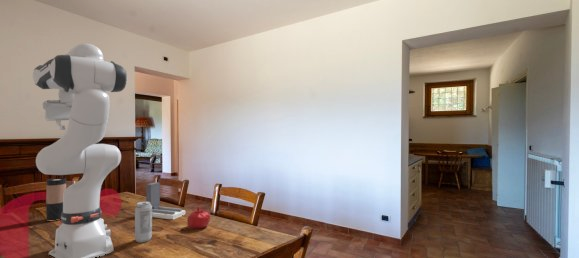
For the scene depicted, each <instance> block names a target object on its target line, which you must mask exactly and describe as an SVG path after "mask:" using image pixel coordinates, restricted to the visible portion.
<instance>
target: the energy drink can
mask: <svg viewBox="0 0 579 258" xmlns="http://www.w3.org/2000/svg"><path fill="white" fill-rule="evenodd" d="M152 235H153V217H152V205H151V204H150V202H148V201H139V202H137V203H136V205H135V207H134V240H135V241H136V243H140V244H141V243H146V242H149V241H151V238H152Z"/></svg>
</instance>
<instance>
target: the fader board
mask: <svg viewBox="0 0 579 258" xmlns="http://www.w3.org/2000/svg"><path fill="white" fill-rule="evenodd" d="M158 206H159V209H158V210H157V209H152V218H156V219H157V218H158V219H165V220H175V219H178V218H180V217H183V216H184V215H186V210H184V209H182V208H178V207H177V208H176V207H167V206H166V207H165V206H161V205H158ZM182 215H183V216H182Z"/></svg>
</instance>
